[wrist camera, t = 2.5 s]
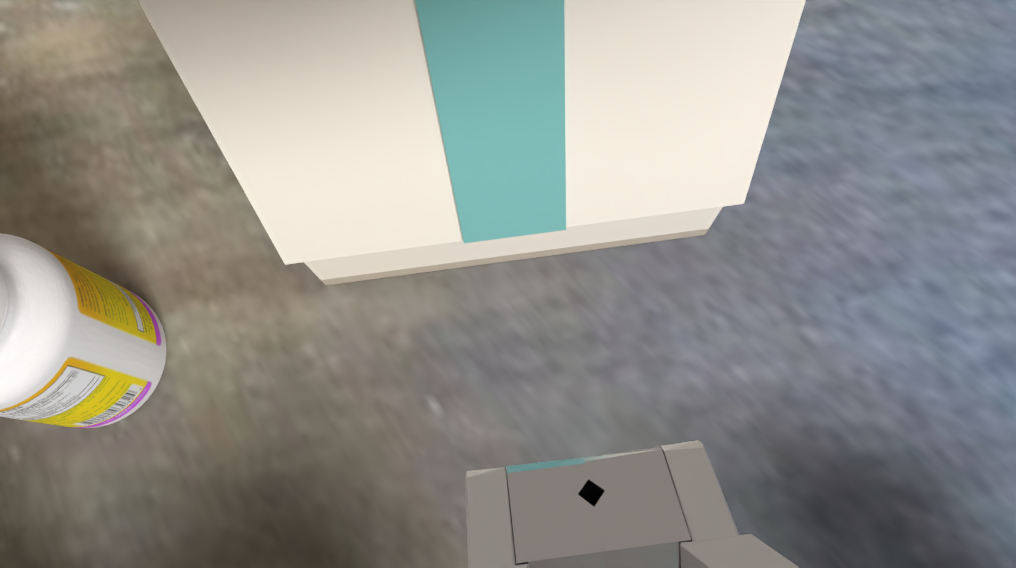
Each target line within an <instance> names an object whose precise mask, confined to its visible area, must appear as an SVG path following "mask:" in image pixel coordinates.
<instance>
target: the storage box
mask: <svg viewBox="0 0 1016 568" xmlns="http://www.w3.org/2000/svg"><path fill="white" fill-rule="evenodd" d="M722 207H723V206H722ZM722 207H715V208H707V209H700V210H692V211H685V212H677V213H669V214H662V215H654V216H647V217H639V218H632V219H624V220H617V221H609V222H602V223H594V224H587V225H579V226H572V227H566V230H561V231H554V232H546V233H539V234H531V235H524V236H516V237H509V238H501V239H494V240H486V241H479V242H471V243H464V241H459V242H451V243H444V244H436V245H429V246H421V247H413V248H406V249H398V250H391V251H383V252H376V253H368V254H361V255H353V256H346V257H338V258H331V259H323V260H316V261H308V262H304V263H305V264H306V265H307V266H308V267H309V268H310V269H311V270H312V271H313V272H314V273H315V274H316V276H317V277H318V278H319V279H320V280H321V281H322V282H323V283H324V284H325V285H331V284H339V283H347V282H354V281H362V280H369V279H377V278H384V277H392V276H399V275H407V274H414V273H422V272H429V271H437V270H444V269H452V268H459V267H467V266H474V265H482V264H490V263H497V262H505V261H512V260H520V259H527V258H535V257H542V256H550V255H557V254H565V253H572V252H580V251H587V250H595V249H602V248H610V247H617V246H625V245H632V244H640V243H648V242H655V241H663V240H670V239H678V238H685V237H693V236H700V235H705V234H706V232H707V231H708V229H709V227H710V226H711V224H712V223H713V221H714V220H715V218H716V216H717V215H718V213H719V212H720V210H721V209H722Z"/></svg>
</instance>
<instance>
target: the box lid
mask: <svg viewBox="0 0 1016 568" xmlns="http://www.w3.org/2000/svg"><path fill="white" fill-rule="evenodd" d="M805 1H806V0H138V2H139V4H140V6H141V8H142V9H143V11H144V13H145V15H146V16H147V18H148V20H149V22H150V24H151V25H152V27H153V29H154V31H155V33H156V34H157V36H158V38H159V40H160V42H161V43H162V45H163V47H164V49H165V50H166V52H167V54H168V56H169V58H170V59H171V61H172V63H173V65H174V67H175V68H176V70H177V72H178V74H179V76H180V77H181V79H182V81H183V83H184V84H185V86H186V88H187V90H188V92H189V93H190V95H191V97H192V99H193V101H194V102H195V104H196V106H197V108H198V110H199V111H200V113H201V115H202V117H203V118H204V120H205V122H206V124H207V126H208V127H209V129H210V131H211V133H212V135H213V136H214V138H215V140H216V142H217V144H218V145H219V147H220V149H221V151H222V153H223V154H224V156H225V158H226V160H227V161H228V163H229V165H230V167H231V169H232V170H233V172H234V174H235V176H236V178H237V179H238V181H239V183H240V185H241V187H242V188H243V190H244V192H245V194H246V195H247V197H248V199H249V201H250V203H251V204H252V206H253V208H254V210H255V212H256V213H257V215H258V217H259V219H260V221H261V222H262V224H263V226H264V228H265V229H266V231H267V233H268V235H269V237H270V238H271V240H272V242H273V244H274V246H275V247H276V249H277V251H278V253H279V255H280V256H281V258H282V260H283V262H284V263H285V264H293V263H301V262H308V261H316V260H323V259H331V258H338V257H346V256H353V255H361V254H368V253H376V252H383V251H391V250H398V249H406V248H413V247H421V246H429V245H436V244H444V243H451V242H459V241H464V243H471V242H479V241H486V240H494V239H501V238H509V237H516V236H524V235H531V234H539V233H546V232H554V231H561V230H566V227H572V226H579V225H587V224H594V223H602V222H609V221H617V220H624V219H632V218H639V217H647V216H654V215H662V214H669V213H677V212H685V211H692V210H700V209H707V208H715V207H722V206H730V205H737V204H744V202H745V198H746V195H747V192H748V188H749V185H750V182H751V179H752V175H753V172H754V169H755V165H756V162H757V159H758V156H759V152H760V149H761V146H762V142H763V139H764V136H765V132H766V129H767V126H768V123H769V119H770V116H771V113H772V109H773V106H774V103H775V100H776V96H777V93H778V90H779V86H780V83H781V80H782V77H783V73H784V70H785V67H786V63H787V60H788V57H789V53H790V50H791V47H792V44H793V40H794V37H795V34H796V30H797V27H798V24H799V21H800V17H801V14H802V11H803V7H804V4H805Z"/></svg>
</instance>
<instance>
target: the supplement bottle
mask: <svg viewBox="0 0 1016 568" xmlns="http://www.w3.org/2000/svg"><path fill="white" fill-rule="evenodd" d="M165 360H166V339H165V334H164V330H163V327H162V325H161V322H160V320H159V318H158V316H157V315H156V313H155V312H154V311H153V309H152V308H151V307H150V306H149V305H148V304H147V303H146V302H145V301H144V300H143V299H141V298H140V297H139V296H137V295H136V294H134V293H132V292H131V291H129V290H127V289H125V288H123V287H121V286H119V285H117V284H115V283H113V282H111V281H109V280H107V279H105V278H103V277H101V276H99V275H97V274H95V273H93V272H91V271H89V270H87V269H85V268H83V267H81V266H79V265H78V264H76V263H73V262H72V261H69V260H67V259H65V258H63V257H61V256H59V255H57V254H55V253H53V252H51V251H49V250H47V249H46V248H44V247H42V246H40V245H38V244H36V243H33V242H31V241H29V240H26V239H24V238H21V237H18V236H14V235H9V234H1V233H0V417H6V418H13V419H18V420H25V421H32V422H38V423H45V424H52V425H59V426H66V427H75V428H94V427H101V426H105V425H109V424H112V423H115V422H117V421H119V420H121V419H123V418H125V417H127V416H128V415H130V414H131V413H133V412H134V411H136V410H137V409H138V408H139V407H140V406H141V405H143V404H144V402H145V401H146V400H147V399H148V398H149V397H150V395H151V394H152V393H153V391H154V390H155V388H156V386H157V384H158V382H159V380H160V378H161V376H162V373H163V370H164V366H165Z"/></svg>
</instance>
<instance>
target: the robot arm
mask: <svg viewBox="0 0 1016 568" xmlns="http://www.w3.org/2000/svg"><path fill="white" fill-rule="evenodd" d="M465 494H466V518H467V541H468V565H469V568H799V567H798V566H796V565H795V564H794V563H792V562H791V561H789V560H788V559H786V558H785V557H784V556H782V555H781V554H779V553H778V552H776V551H775V550H774V549H772V548H771V547H769V546H768V545H766V544H765V543H764V542H762V541H761V540H759V539H758V538H756V537H755V536H754V535H752V534H746V535H739V533H738V530H737V528H736V525H735V523H734V520H733V518H732V515H731V513H730V510H729V508H728V505H727V502H726V500H725V497H724V495H723V492H722V490H721V487H720V485H719V482H718V480H717V477H716V474H715V472H714V469H713V467H712V464H711V462H710V459H709V457H708V454H707V451H706V449H705V446H704V445H703V444H702V443H701V442H700V441H699V440H698V441H691V442H684V443H678V444H671V445H665V446H660V448H659V447H654V448H647V449H640V450H633V451H626V452H619V453H612V454H605V455H598V456H591V457H584V458H577V459H568V460H559V461H550V462H541V463H532V464H522V465H513V466H507V471H506V468H494V469H485V470H475V471H467V472H466V478H465Z"/></svg>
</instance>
